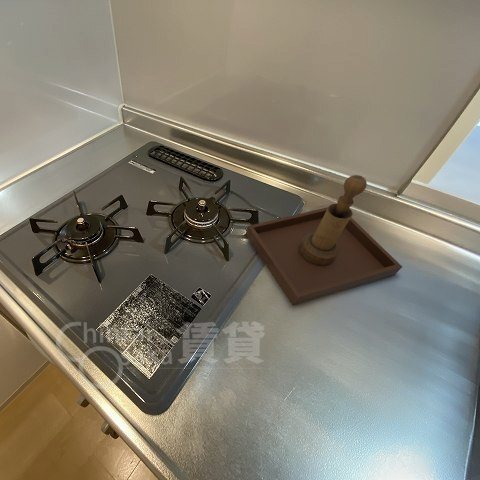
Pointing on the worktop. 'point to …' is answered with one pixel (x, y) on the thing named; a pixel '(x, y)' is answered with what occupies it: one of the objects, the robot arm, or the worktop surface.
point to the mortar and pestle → (332, 225)
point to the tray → (311, 275)
